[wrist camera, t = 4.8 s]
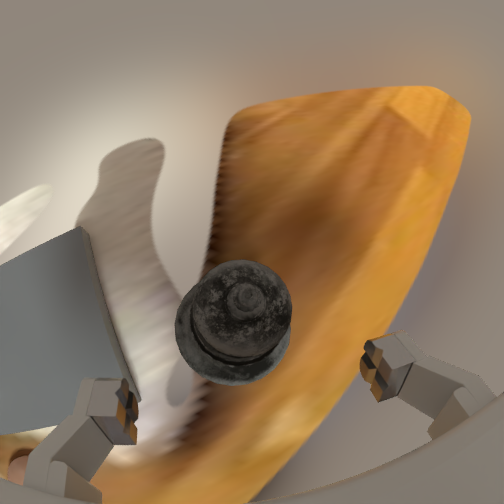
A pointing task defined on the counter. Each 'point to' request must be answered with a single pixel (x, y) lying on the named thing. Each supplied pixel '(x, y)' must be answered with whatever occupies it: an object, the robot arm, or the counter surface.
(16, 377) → the slate board
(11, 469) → the peach domed round part
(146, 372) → the counter surface
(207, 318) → the black rounded upright piece
